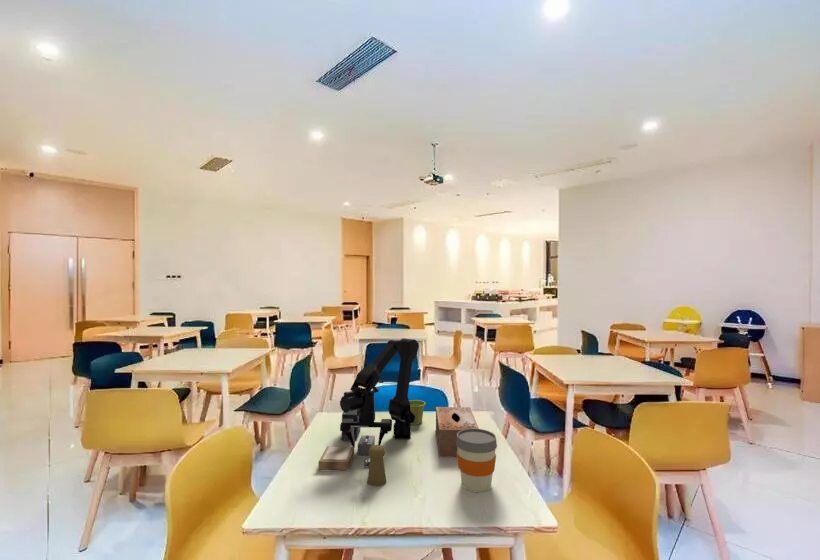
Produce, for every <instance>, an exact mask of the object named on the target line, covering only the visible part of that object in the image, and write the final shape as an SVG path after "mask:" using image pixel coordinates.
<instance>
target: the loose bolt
mask: <svg viewBox="0 0 820 560" xmlns="http://www.w3.org/2000/svg"><path fill="white" fill-rule="evenodd" d="M369 464H370V461H368V460H367V459H364V460H363V467H364V468H367V467H368V468H369Z"/></svg>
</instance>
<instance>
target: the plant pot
mask: <svg viewBox="0 0 820 560" xmlns="http://www.w3.org/2000/svg"><path fill="white" fill-rule="evenodd" d="M409 402H410V411H411V412H412V413H413V415H414V416H415V420H414V422H412V424H411V425H418V424H422V423H423V416H424V410H425V409H424V408H425V405H426V402H425V401H423V400H421V399H420V400H419V399H413V400H409Z"/></svg>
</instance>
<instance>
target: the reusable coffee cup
mask: <svg viewBox="0 0 820 560" xmlns="http://www.w3.org/2000/svg"><path fill="white" fill-rule="evenodd" d="M456 445H457V449H458V451H457V457H456V458H457V467H458V470H459V472H460V478H461V479H460V480H461V485H462V487H463V488H464V489H465V490H468V491H470V492H473V493H475V492H476V493H481V492H487V491H488V490H490V489H491V487H492V481H493V473H494V472H495V467H496V459H497V454H496V451H497V450H496V449H497V448H498V444H497V436H496V434H494V432H492V431H489V430H486V429H484V428H483V429H482V428H479V429H474V428H473V429H464V430H461V431H459V432H458V433H457V438H456Z"/></svg>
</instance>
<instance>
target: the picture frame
mask: <svg viewBox="0 0 820 560" xmlns="http://www.w3.org/2000/svg"><path fill="white" fill-rule="evenodd" d="M354 456H355V448H354V447H353V446H336V445H335V446H328V445H327V446H326V447H325V449H324V451H323V453H322V455H321V456H320V458H319V460H318V471H319V470H340V471H339V472H344V471H345V472H347V471H348V472H349V471H350V468H351V467H352V464H353V460H354V458H355V457H354Z"/></svg>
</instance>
